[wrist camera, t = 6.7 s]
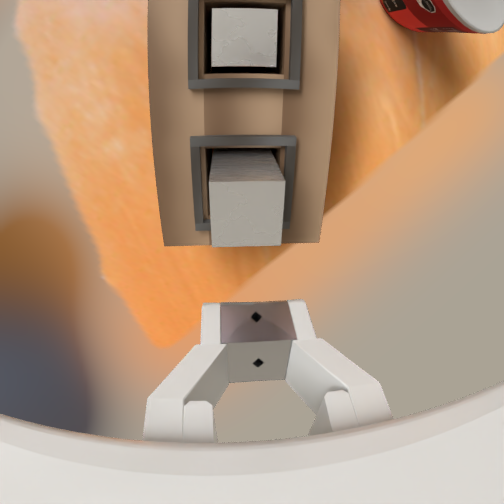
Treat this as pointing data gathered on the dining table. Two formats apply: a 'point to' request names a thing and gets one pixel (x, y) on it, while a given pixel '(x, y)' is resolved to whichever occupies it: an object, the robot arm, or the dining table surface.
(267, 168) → the peg
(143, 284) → the dining table surface
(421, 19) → the canned food
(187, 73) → the socket block
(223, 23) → the peg
